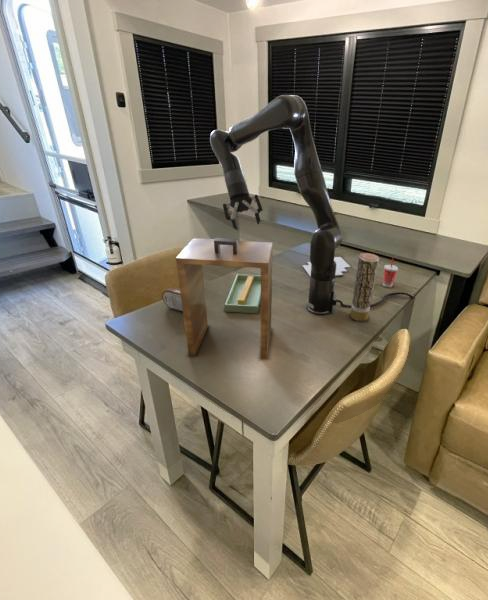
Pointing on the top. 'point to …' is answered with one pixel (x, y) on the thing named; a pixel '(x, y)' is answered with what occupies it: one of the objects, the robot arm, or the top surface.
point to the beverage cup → (389, 274)
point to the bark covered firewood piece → (364, 286)
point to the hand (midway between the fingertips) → (247, 226)
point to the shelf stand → (221, 255)
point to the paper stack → (339, 266)
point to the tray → (251, 300)
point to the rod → (245, 290)
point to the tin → (172, 298)
